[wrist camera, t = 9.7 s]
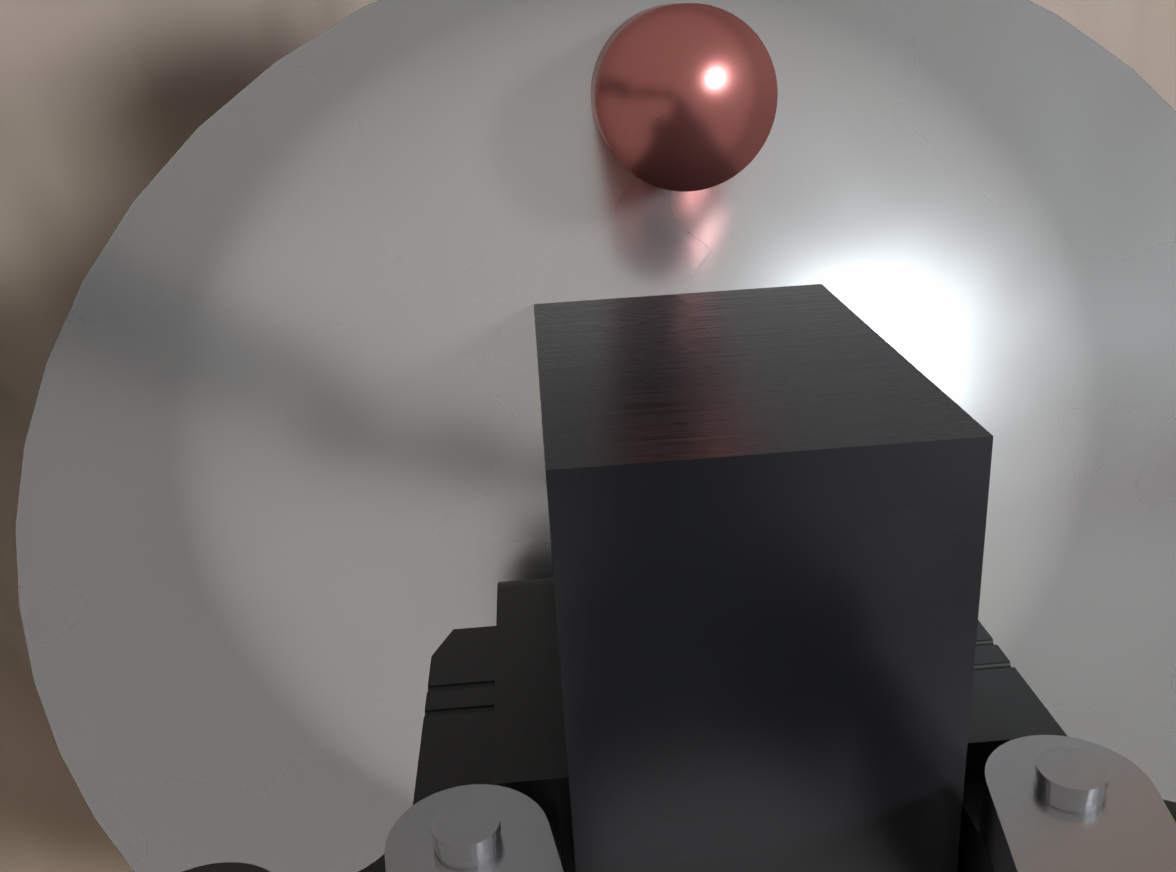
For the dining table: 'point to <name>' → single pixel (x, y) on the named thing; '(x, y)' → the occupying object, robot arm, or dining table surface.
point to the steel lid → (619, 426)
